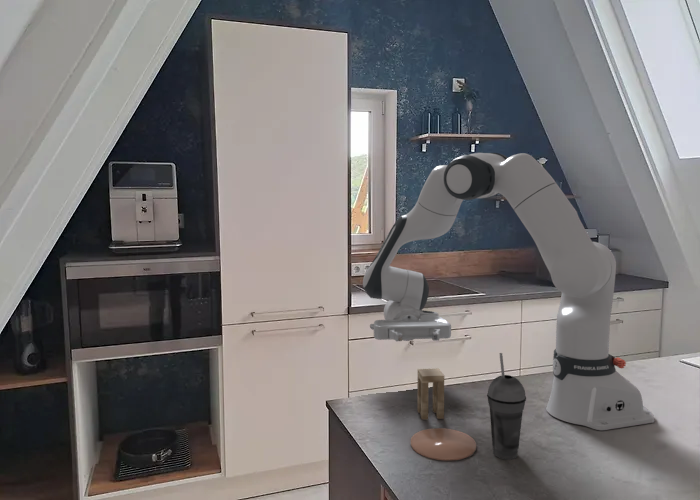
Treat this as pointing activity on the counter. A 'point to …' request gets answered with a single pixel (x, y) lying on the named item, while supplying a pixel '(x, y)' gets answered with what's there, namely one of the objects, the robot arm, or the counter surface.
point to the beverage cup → (506, 413)
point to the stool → (438, 392)
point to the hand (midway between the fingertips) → (418, 337)
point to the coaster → (443, 444)
